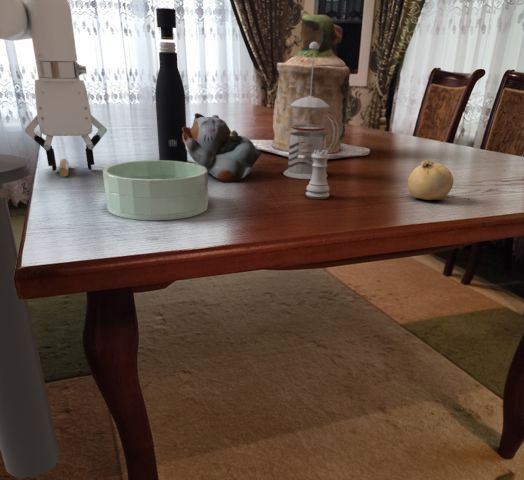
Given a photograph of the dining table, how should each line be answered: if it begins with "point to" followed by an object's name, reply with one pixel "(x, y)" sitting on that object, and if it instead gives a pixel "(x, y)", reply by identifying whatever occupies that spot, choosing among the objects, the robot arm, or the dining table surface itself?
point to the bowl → (156, 189)
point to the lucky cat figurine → (219, 148)
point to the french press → (307, 135)
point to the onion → (430, 181)
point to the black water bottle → (169, 94)
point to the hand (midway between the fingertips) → (72, 168)
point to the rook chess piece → (318, 176)
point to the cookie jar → (313, 90)
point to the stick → (63, 167)
